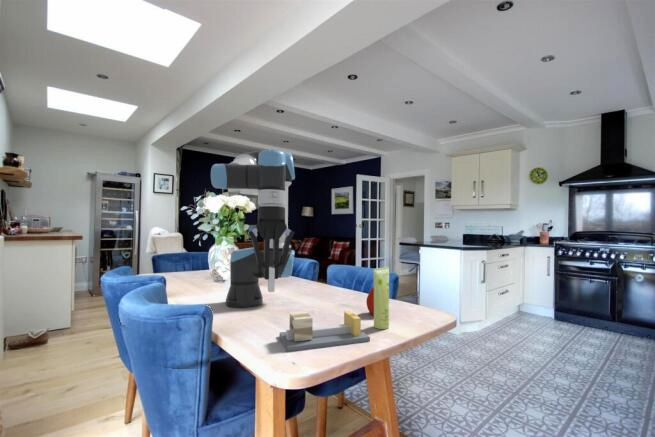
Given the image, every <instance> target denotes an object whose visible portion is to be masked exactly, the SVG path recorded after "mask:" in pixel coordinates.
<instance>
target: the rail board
mask: <svg viewBox="0 0 655 437" xmlns="http://www.w3.org/2000/svg"><path fill="white" fill-rule="evenodd" d="M343 312H344V313H343V324H334V325H325V326H314V327H312V340H304V341H296V342H295V341H294V340H293V330H290V329H288V330H287V329H286V330H285V331H281V332H279V338H280V340H281V342H282V344H283V346H284V348H285V349H286V351H287V353H288V352H297V351H304V350H312V349H321V348H327V347H335V346H342V345H343V346H344V345H350V344H357V343H358V344H359V343H360V344H361V343H366V342H370V341H371V337H370V335H368V334H366V332H365V331H363V330H361V329H362V326H361V322H362V320H361V317H359V316H358V315H356V314H355V313H354V312H352V311H351V310H348V311H343Z"/></svg>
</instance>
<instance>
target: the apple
mask: <svg viewBox="0 0 655 437" xmlns="http://www.w3.org/2000/svg"><path fill="white" fill-rule="evenodd" d="M366 307H367V310H368V312H369V313H370V315H373V316H374V286H373V287H372V288H371V289H370V290H369V291H368V295H367V297H366Z"/></svg>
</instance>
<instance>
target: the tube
mask: <svg viewBox="0 0 655 437" xmlns="http://www.w3.org/2000/svg"><path fill="white" fill-rule="evenodd" d="M373 287H374V315H373V327H374V328H376V329H377V330H378V329H379V330H386V329H389V328H390V267H389V266H384V267H377V268H373Z"/></svg>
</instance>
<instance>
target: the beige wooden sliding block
mask: <svg viewBox="0 0 655 437" xmlns="http://www.w3.org/2000/svg"><path fill="white" fill-rule="evenodd" d="M313 321H314V320H313V317H312V316H311V315H310V313H308V312H307V311H305V310H304V311H294V312H289V330H293V340H294V341H295V342H296V341H304V340H312V328H313Z"/></svg>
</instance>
